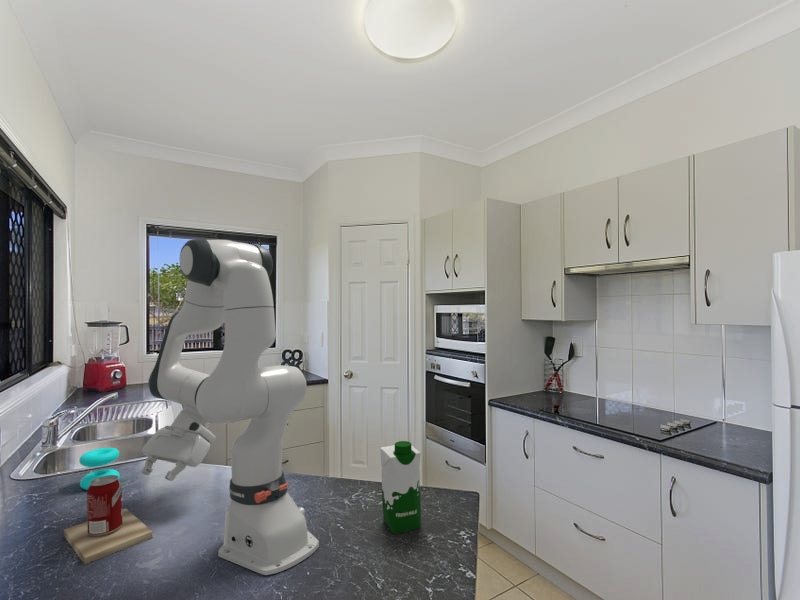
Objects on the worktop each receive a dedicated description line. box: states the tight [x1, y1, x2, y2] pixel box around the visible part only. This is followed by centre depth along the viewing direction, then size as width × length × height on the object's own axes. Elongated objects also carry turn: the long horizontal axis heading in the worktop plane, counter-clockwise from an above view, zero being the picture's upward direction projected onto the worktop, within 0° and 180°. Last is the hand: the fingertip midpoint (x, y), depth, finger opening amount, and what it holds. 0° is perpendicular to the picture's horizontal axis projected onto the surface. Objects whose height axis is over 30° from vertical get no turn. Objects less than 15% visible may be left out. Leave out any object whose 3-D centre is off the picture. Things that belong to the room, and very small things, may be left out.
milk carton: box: [379, 440, 422, 535], centre depth 103 cm, size 9×9×20 cm
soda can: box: [86, 475, 123, 536], centre depth 101 cm, size 7×7×12 cm
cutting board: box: [63, 508, 153, 565], centre depth 101 cm, size 18×13×2 cm
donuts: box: [79, 447, 121, 491], centre depth 131 cm, size 10×10×10 cm
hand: (156, 476), depth 112 cm, fingers open, 8 cm apart
